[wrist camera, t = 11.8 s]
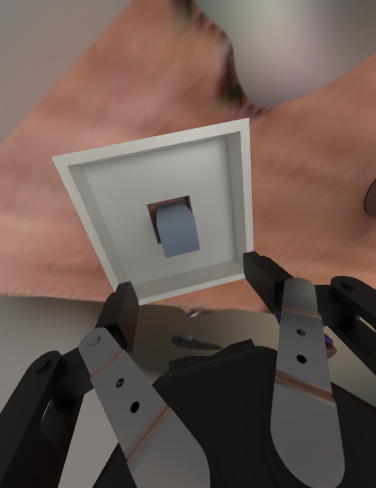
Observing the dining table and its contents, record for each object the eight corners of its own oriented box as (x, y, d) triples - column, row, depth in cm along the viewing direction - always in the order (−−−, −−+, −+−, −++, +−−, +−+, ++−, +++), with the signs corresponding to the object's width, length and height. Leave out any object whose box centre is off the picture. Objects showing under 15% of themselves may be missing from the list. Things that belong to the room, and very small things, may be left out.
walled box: (225, 130, 24) (248, 117, 18) (235, 254, 33) (254, 275, 26) (80, 159, 23) (51, 156, 17) (129, 281, 32) (122, 309, 25)
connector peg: (182, 200, 27) (194, 216, 18) (186, 224, 29) (200, 249, 20) (156, 205, 27) (156, 224, 18) (163, 229, 29) (165, 258, 20)
